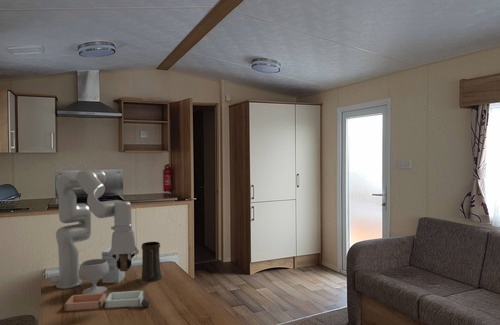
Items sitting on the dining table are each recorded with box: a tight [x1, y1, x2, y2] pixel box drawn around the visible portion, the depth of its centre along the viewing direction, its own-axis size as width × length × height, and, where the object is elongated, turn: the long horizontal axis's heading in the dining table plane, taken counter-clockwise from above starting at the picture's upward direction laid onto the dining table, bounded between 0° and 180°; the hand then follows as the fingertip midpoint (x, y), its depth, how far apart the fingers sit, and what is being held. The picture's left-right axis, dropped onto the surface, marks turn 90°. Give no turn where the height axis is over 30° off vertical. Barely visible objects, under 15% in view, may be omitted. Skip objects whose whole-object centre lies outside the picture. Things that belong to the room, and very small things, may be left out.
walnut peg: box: [120, 254, 129, 272], centre depth 178 cm, size 4×4×8 cm
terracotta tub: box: [64, 292, 107, 312], centre depth 176 cm, size 15×11×4 cm
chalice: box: [79, 258, 109, 294], centre depth 194 cm, size 14×14×15 cm
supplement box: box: [101, 247, 126, 284], centre depth 212 cm, size 10×9×17 cm
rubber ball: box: [141, 298, 151, 308], centre depth 174 cm, size 4×4×4 cm
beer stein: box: [141, 241, 162, 283], centre depth 211 cm, size 15×11×20 cm
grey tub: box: [104, 290, 145, 309], centre depth 178 cm, size 15×11×4 cm
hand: (124, 267), depth 178 cm, fingers closed on walnut peg, 3 cm apart
